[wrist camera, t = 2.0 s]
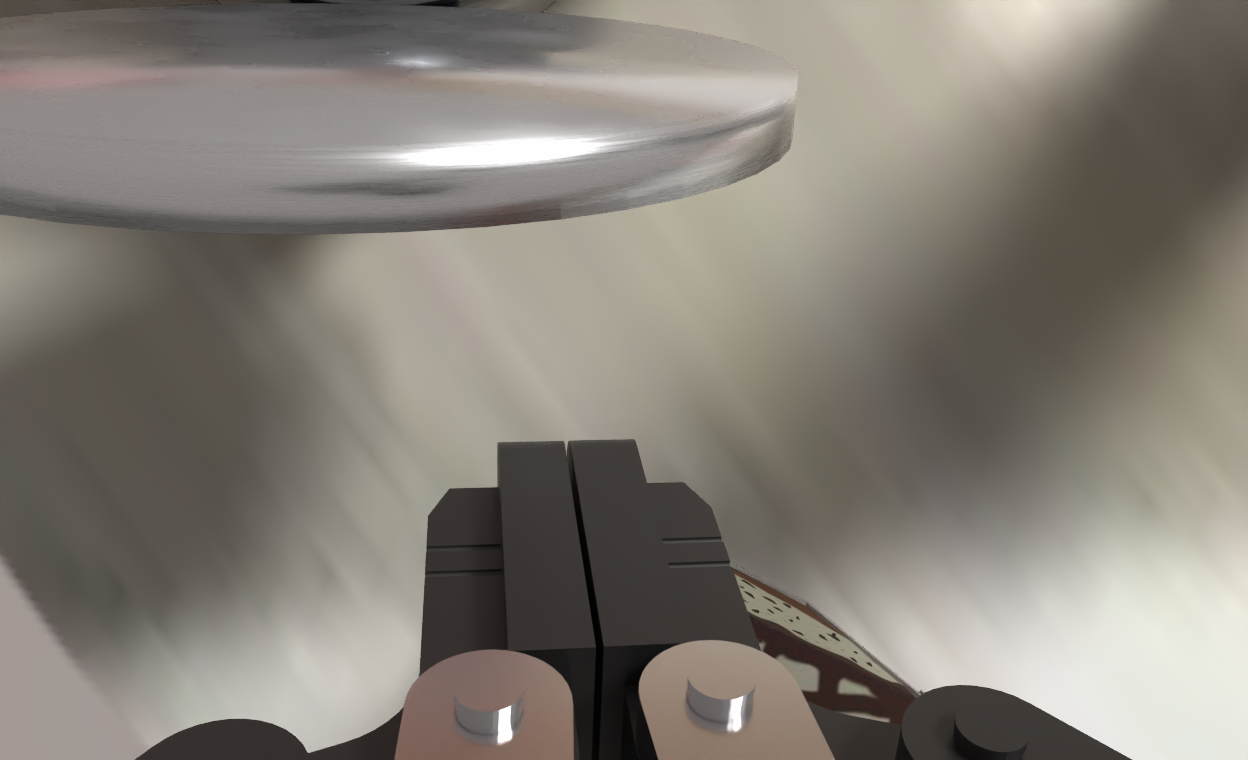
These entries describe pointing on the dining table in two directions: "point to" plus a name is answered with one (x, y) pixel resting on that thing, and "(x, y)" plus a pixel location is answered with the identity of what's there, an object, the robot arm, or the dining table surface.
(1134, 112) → the dining table surface
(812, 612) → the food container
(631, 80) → the lid
